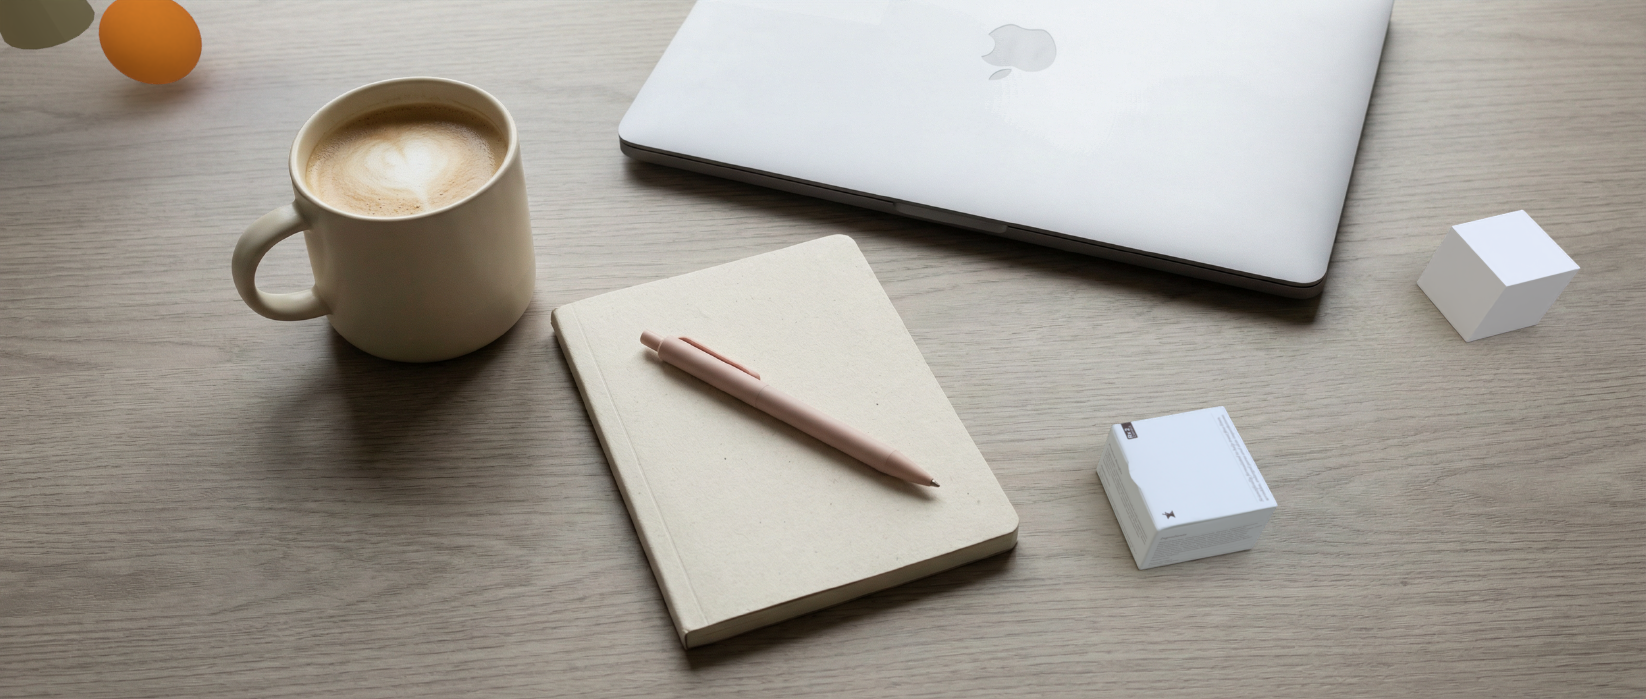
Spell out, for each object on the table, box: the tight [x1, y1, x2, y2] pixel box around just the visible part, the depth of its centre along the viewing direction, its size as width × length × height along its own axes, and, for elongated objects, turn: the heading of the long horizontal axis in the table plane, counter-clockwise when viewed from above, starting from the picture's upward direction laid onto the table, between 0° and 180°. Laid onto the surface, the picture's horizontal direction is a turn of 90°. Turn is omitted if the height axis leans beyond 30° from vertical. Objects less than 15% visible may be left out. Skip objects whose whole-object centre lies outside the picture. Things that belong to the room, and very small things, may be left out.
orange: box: [98, 0, 203, 85], centre depth 96 cm, size 8×8×8 cm
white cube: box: [1416, 209, 1581, 343], centre depth 80 cm, size 6×6×6 cm
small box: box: [1096, 405, 1279, 571], centre depth 69 cm, size 8×8×5 cm
